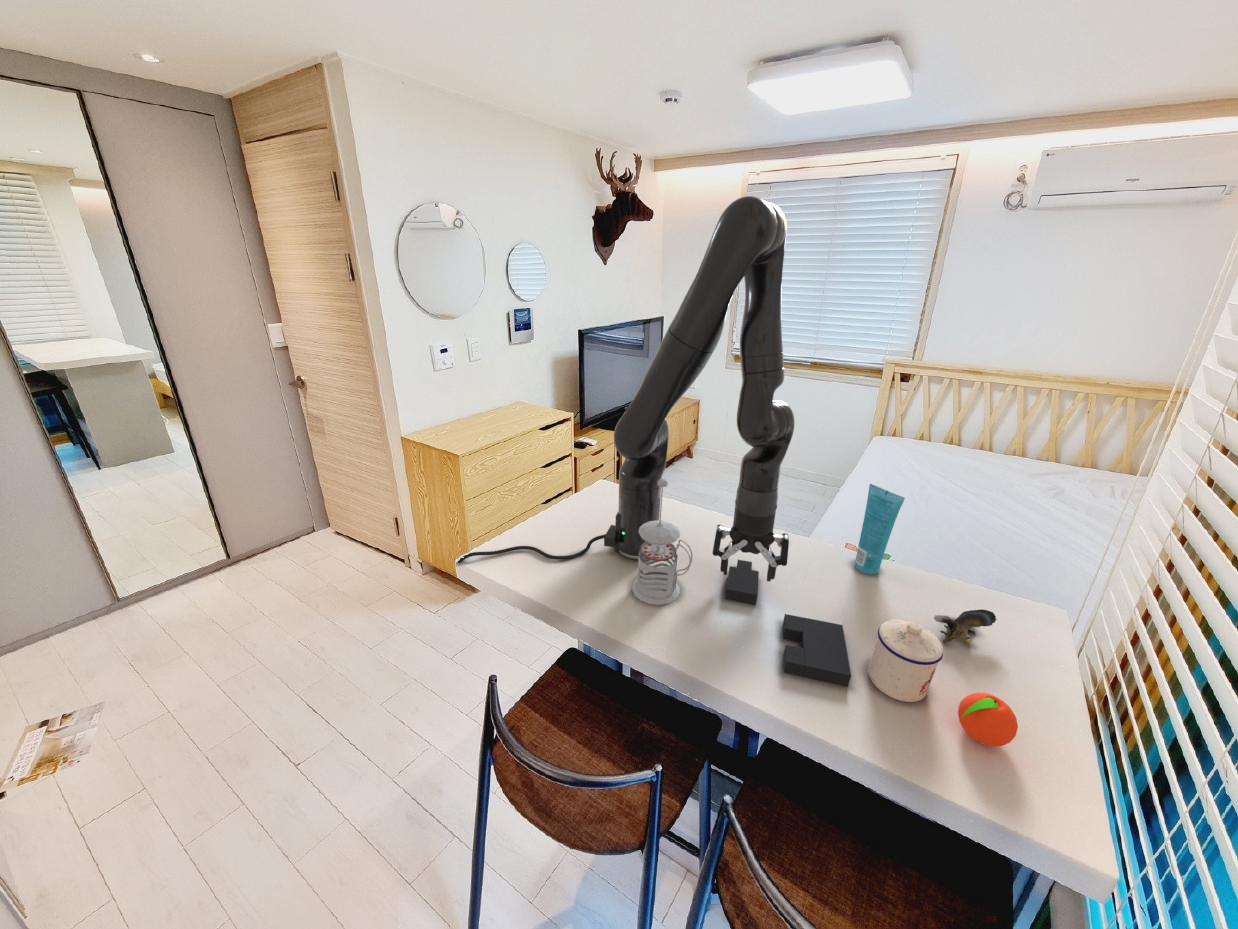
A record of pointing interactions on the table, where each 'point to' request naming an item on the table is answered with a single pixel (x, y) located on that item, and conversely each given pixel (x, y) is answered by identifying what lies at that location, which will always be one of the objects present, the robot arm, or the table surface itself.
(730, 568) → the small pad
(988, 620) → the eagle figurine
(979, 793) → the table surface
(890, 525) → the tube
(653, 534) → the french press
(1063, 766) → the table surface
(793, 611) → the table surface
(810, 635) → the large pad
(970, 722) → the clementine
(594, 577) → the table surface
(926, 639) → the teacup with lid
